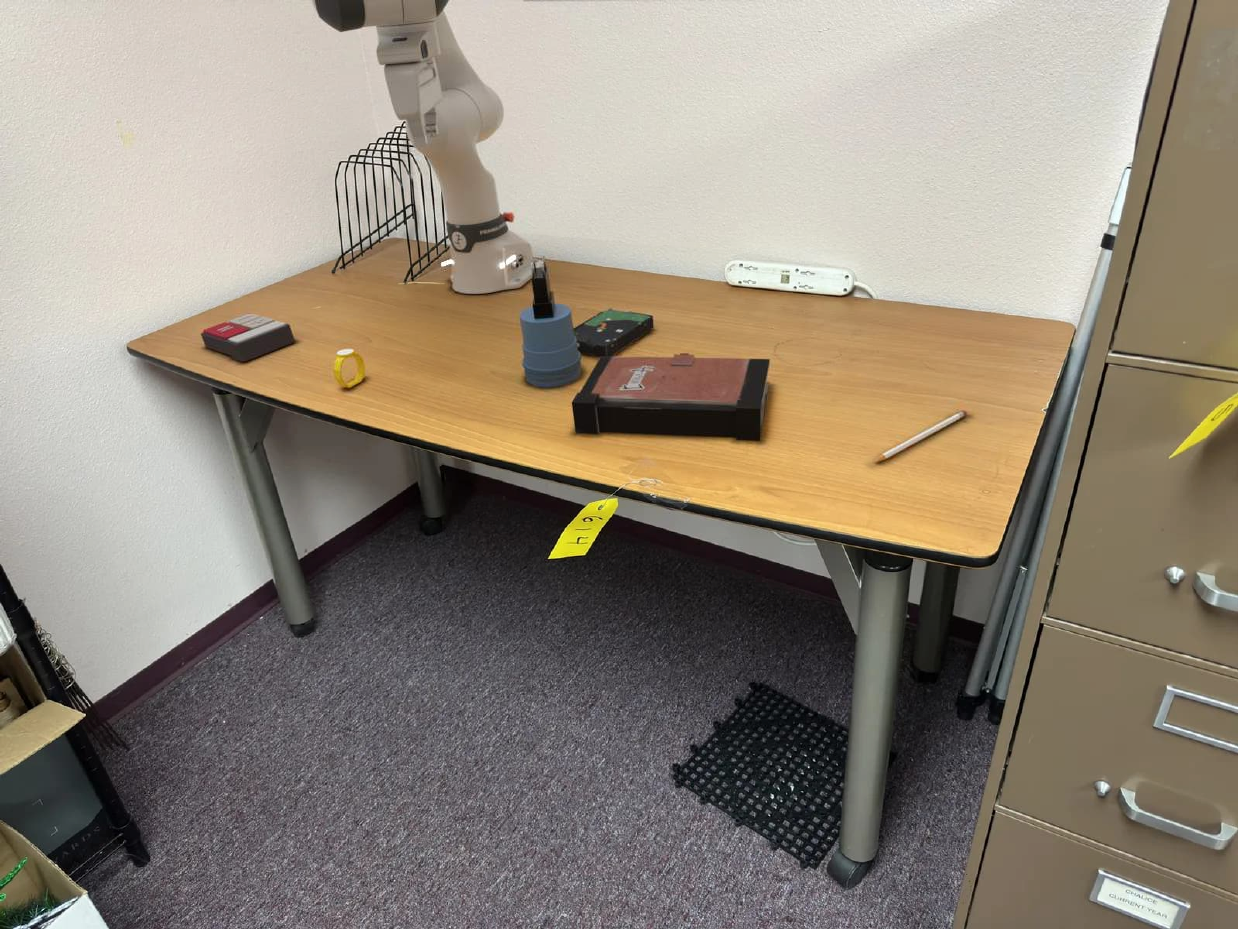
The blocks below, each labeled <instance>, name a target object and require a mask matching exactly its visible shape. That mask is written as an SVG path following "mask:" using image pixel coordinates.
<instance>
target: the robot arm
mask: <svg viewBox="0 0 1238 929" xmlns="http://www.w3.org/2000/svg"><path fill="white" fill-rule="evenodd" d="M449 1H450V0H311V3H312V6H313V8H314V10H315V12H316V13H317V15H318V18H319V19H320V20H322V21H323V23H325V24H326V25H328V26H329V27H331V28H333V30H336V31H338V32H339V33H343V32H349V31H354V30H360V29H362V28H369V27H375V30H376V35H377V47H376V49H375V50H376V51H375V52H376V58H377V62H378V65H380V66H383V73H384V79H385V82H386V86H387V90H388V94H389V98H390V102H391V105H392V109H393V111H394V114H395V115H396V118H397V119H398V120H399V121H405V131H406V135H407V138H408V140H409V142H410V143H411V145H412V146H413V147H414V149H416V150H417V151H418V152H419V153H420V154H422V155H424V157H425V158H426V159H427V161H428V163H429V165H430V166H431V168H432V169H433V172H434V174H435V176H436V178H437V181H438V184H439V188H440V191H441V196H442V201H443V206H444V208H445V209H444V210H445V214H446V221H445V224H446V232H447V238H448V240H449V241H450V244H449V253H450V254H449V255H450V259H449V260H446V261H443V262H441V263H440V264H441V267H445V266H447V265H451V275H450V281H451V283H452V285H451V286H452V287H451V288H452V290H453V291H455V292H457V293H460V294H466V295H482V294H490V293H495V292H500V291H504V290H505V291H506V290H515V289H520V288H521V287H523V286H525V284H526V283H528V282H529V281H530V280H531V278H532V271H531V262H532V258H533V257H534V254H533V253H534V252H533V249H532V246H531V244H530V242H529V241H528V240H527V239H526V238H523V237H521V236H520V235H518V234H517V233H515V232H514V231H512V230H510V229H509V226H508V224H507V223H513V222H514V221H515V214H514V212H508V211H505V212H503V213H501V210H500V202H499V197H498V192H497V185H496V179H495V177H494V175H493V173H491V172H490V171H489V170H488V169H486V167H485V165H484V164H483V162H482V160H481V158H480V156H479V152H478V149H477V144H480V143H482V142H485V141H486V140H488V139H489V138H490V137H491V136H493V135H494V134H495V133H496V132H497V130H498V129H499V128H500V127H501V125H502V123H503V120H504V117H505V116H504V115H505V111H504V106H503V102H502V99H501V98H500V96H499V95H498V93H497V92H496V91H495V90H494V89H493V88H492V87H490V86H489V85H487V84H486V83H485V82H484V81H483V80H482V79H481V78H480V76H479V75H478V73H477V72H476V71H475V69H474V68H473V67H472V65H471V63H470V62H469V61H468V59H467V57H466V56H465V54H464V53H463V51H462V49H461V47H460V45H459V44H458V41H457V39H456V36H455V34H454V31H453V30H452V27H451V24H450V23H449V20H448V17H447V15H446V13H445V10H444V9H445V8H446V6H447V5H448V3H449ZM541 264H542V259H537V258H535V265H536V268H539V267H542V266H541ZM543 266H544V264H543ZM533 268H534V265H533Z"/></svg>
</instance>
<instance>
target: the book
mask: <svg viewBox="0 0 1238 929" xmlns="http://www.w3.org/2000/svg"><path fill="white" fill-rule="evenodd" d="M770 363H771V359H770V358H738V357H737V358H736V357H735V358H731V357H730V358H729V357H695V354H690V353H686V352H685V353H684V352H683V353H681V352H680V354H673V357H672V356H671V357H670V356H617V355H616V356H615V355H613V356H601V357H599V359H598V360H597V362H596V364H595V366H594V367H593V369H592V370H591V373H590V374H589V376H588V377H587V379H586V381H585V382H584V384H583V385H582V388H581V389H580V391H579V392H576V394H575V396H574V397H573V399H572V401H571V410H572V416H573V417H572V418H573V425H574V432H575V434H578V435H598V434H599V433H601V434H623V435H624V434H626V435H627V434H628V435H648V436H649V435H650V436H651V435H653V436H654V435H655V436H673V437H674V436H675V437H676V436H677V437H700V438H723V439H725V438H726V439H735V440H736V441H747V442H748V441H749V442H760V441H761V440H762V439H761V438H762V433H763V426H764V422H765V416H766V415H765V414H766V408H767V403H768V396H769V393H770V392H769V391H770V385H771V384H770V381H768V375H769V369H770Z"/></svg>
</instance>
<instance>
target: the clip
mask: <svg viewBox="0 0 1238 929" xmlns="http://www.w3.org/2000/svg"><path fill="white" fill-rule="evenodd" d="M535 259H536V258H535V256H533V258H532V262H531V271H532V278H531V279H530V280H531V287H532V294H533V299H532V306H533V312H534V319H543V318H553V317H554V310H555V303H556V302H555V295H554V294H555V293H554V291H553V290H551V283H550V276H549V268H548V266H547V263H546V256H545V255H542V259H541V261H542V264H541V266H542V267H539V268H536V265H535ZM543 264H544V266H543ZM533 265H534V268H533ZM532 306H531V307H532Z"/></svg>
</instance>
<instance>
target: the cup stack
mask: <svg viewBox="0 0 1238 929" xmlns="http://www.w3.org/2000/svg"><path fill="white" fill-rule="evenodd" d="M518 317H519V324H520V329H521V335H522V336H521V337H522V344H521V347H522V353H523V357H522V360H521V363H522V367H523V371H524V374H525V375H526V376H525V377H526V381H527V383H528V384H530V385H531V386H534V387H537V388H559V387H562V386H563V387H564V386H566V385H569V384H572V383H573V382H575V381H577V380H578V379H579V378H580V377H581V374H582V369H581V368H582V362H581V361H582V353H580V352H579V351H578V348H577V340H576V337H575V336H574V331H573V328H574V323H573V322H574V321H573V316H572V308H571V307H570V306H569V305H566V304H564V303H556V302H555V310H554V317H553V318H543V319H534V312H533V306H529V307H527V308H525V309H523V310H521V312H520V313H519V315H518Z"/></svg>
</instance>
